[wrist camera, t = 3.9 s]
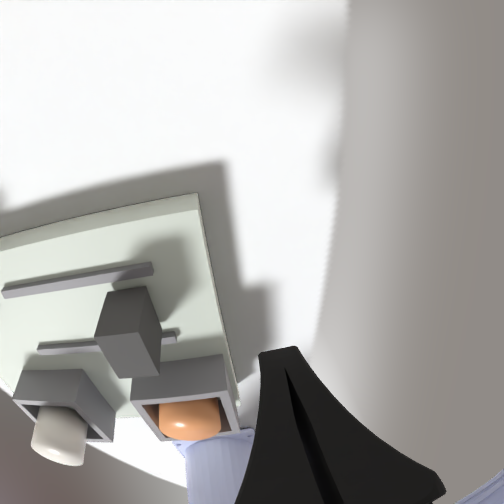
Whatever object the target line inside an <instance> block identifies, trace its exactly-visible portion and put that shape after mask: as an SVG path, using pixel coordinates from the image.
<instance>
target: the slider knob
mask: <svg viewBox="0 0 504 504" xmlns="http://www.w3.org/2000/svg"><path fill="white" fill-rule="evenodd" d="M94 339H95V341H96V342H97V344H98V346H99V347H100V349H101V351H102V352H103V354H104V356H105V357H106V359H107V361H108V362H109V364H110V366H111V367H112V369H113V370H114V372H115V374H116V375H117V377H118V378H119V379H125V378H138V377H149V376H159V375H160V357H161V340H162V327H161V324H160V322H159V319H158V317H157V314H156V311H155V309H154V306H153V303H152V301H151V298H150V295H149V292H148V289H147V287H146V286H141V287H135V288H129V289H122V290H116V291H109V292H107V294H106V297H105V300H104V304H103V307H102V310H101V313H100V317H99V320H98V323H97V327H96V330H95V334H94Z"/></svg>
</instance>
